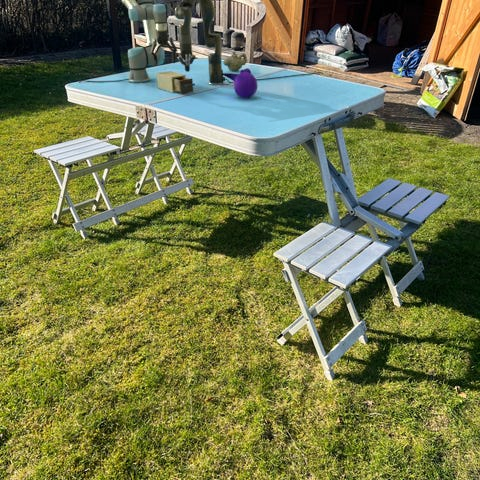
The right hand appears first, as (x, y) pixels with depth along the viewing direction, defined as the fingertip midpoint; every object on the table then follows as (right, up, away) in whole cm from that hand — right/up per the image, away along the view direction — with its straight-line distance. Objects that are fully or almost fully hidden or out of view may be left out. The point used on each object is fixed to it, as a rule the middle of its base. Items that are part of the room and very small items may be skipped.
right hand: (187, 71), depth 290 cm
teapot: (+30, +29, +78) cm, 88 cm away
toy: (+35, -16, 0) cm, 38 cm away
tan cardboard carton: (-13, -4, +23) cm, 27 cm away
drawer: (-6, -8, +13) cm, 17 cm away
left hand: (-18, +12, +19) cm, 29 cm away
